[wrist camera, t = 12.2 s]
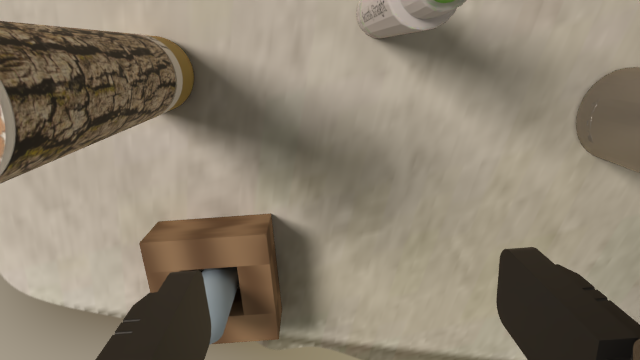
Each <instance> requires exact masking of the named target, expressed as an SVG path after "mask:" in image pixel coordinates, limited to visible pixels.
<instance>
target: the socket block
mask: <svg viewBox="0 0 640 360" xmlns="http://www.w3.org/2000/svg"><path fill="white" fill-rule="evenodd" d="M139 244H140V249H141V253H142V257H143V262H144V266H145V270H146V275H147V279H148V284H149V288H150V292H151V293H154V292H158V290H159V289H160V287H161V286H162V284H163V282H164V281H165V279H166V278H167V276H168V275H169V273H171V272H182V271H196V270H198V269H210V268H224V267H237V271H238V278H239V285H240V288H237V291H236V294H235V297H234V300H233V304H232V307H231V310H230V313H229V317H228V320H227V323H226V326H225V330H224V333H223V335H222V337H221V338H220V339H219V340H218V341H216V342H215V343H212V344H218V343H219V344H220V343H233V342H247V341H261V340H275V339H279V332H280V323H281V314H282V306H281V297H280V288H279V279H278V270H277V261H276V253H275V244H274V235H273V226H272V217H271V214H260V215H246V216H232V217H218V218H204V219H190V220H176V221H162V222H158V223H157V224H156V225H155V226H154V227H153V228H152V230H151V231H150V232H149V233H148V234H147V235H146V236H145V237H144V239H143V240H142V241H141V242H140V243H139Z"/></svg>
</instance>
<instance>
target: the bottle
mask: <svg viewBox="0 0 640 360" xmlns="http://www.w3.org/2000/svg"><path fill="white" fill-rule="evenodd" d="M465 1H466V0H360V2H359V4H358V7H357V20H358V23H359V25H360V28H361V29H362V30H363V31H364V32H365V33H366V34H367V35H369V36H371V37H373V38H386V37H391V36H397V35H403V34H408V33H414V32H420V31H425V30H430V29H435V28H436V27H438V26H440V25H442V24H443V23H445V22H446V21H447V20H448V19H449V18H450V17H451V16H452V15H453V14H454V13H455V11H456V9H457V7H459V6H461V5H462V4H463V3H464V2H465Z"/></svg>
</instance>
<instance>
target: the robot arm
mask: <svg viewBox="0 0 640 360" xmlns="http://www.w3.org/2000/svg"><path fill="white" fill-rule="evenodd" d="M576 130H577V135H578V138H579V140H580V142H581V144H582V145H583V147H584V148H585V149H586V150H587V151H588V152H590V153H591V154H592V155H594V156H597V157H599V158H602V159H604V160H607V161H610V162H612V163H615V164H618V165H620V166H623V167H625V168H628V169H630V170H633V171H636V172H639V173H640V68H639V67H633V68H624V69H620V70H616V71H614V72H612V73H610V74H608V75H606V76H604V77H603V78H602V79H600V80H599V81H597V82H596V83H595V84H594V85H593V86H592V87H591V89H590V90H589V91H588V92H587V94H586V95H585V97H584V98H583V100H582V102H581V105H580V107H579V109H578V114H577V118H576ZM497 310H498V314H499V317H500V319H501V322H502V324H503V325H504V327H505V328H506V329H507V331H508V332H509V334H510V335H511V337H512V338H513V339H514V341H515V342H516V344H517V345H518V346H519V348H520V349H521V351H522V352H523V354H524V355H525V356H526V358H527V359H528V360H640V325H639V324H638V323H637V322H636V321H634V320H633V319H632V318H631V317H630V316H628V315H627V314H626V313H625V312H624V311H622V310H621V309H620V308H619V307H618V306H616V305H615V304H614V303H613V302H612V301H608V300H607V297H606V296H604V295H603V294H602V293H601V292H600V291H598V290H595V289H594V286H592V285H591V284H590V283H589V282H588V281H586V280H585V279H584V278H583V277H582V276H580V275H579V274H577V273H575V272H573V271H571V270H569V269H567V268H565V267H563V266H561V265H558V264H557V265H555V264H554V263H553V262H551V261H550V260H549V259H548V258H547V257H546V256H545V255H543V254H542V253H541V252H540V251H539V250H538V249H536V248H534V247H529V248H515V249H504V250H503V251H502V253H501V256H500V264H499V276H498V288H497ZM210 339H211V318H210V313H209V307H208V301H207V296H206V290H205V285H204V279H203V275H202V273H201V271H199V270H196V271H182V272H171V273H169V275H168V276H167V278H166V279H165V281H164V282H163V284H162V286H161V287H160V289H159V290H158V292H154V293H149V294H147V295H146V296H145V297H144V298H142V299H141V300H140V301H138V302H137V303H136V304H135V305H133V307H132V308H131V309H130V311H129V312H128V314H127V315H126V317H125V318H124V320H123V323H121V324H120V325H119V327H118V328H117V330H116V331H115V335H112V337H111V338H110V340H109V341H108V343H107V344H106V345H105V347H104V348H103V350H102V351H101V353H100V354H99V356H98V357H97V359H96V360H204V359H205V356H206V353H207V350H208V347H209V344H210Z"/></svg>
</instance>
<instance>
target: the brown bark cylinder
mask: <svg viewBox="0 0 640 360" xmlns="http://www.w3.org/2000/svg"><path fill="white" fill-rule="evenodd" d="M193 82H194V74H193V69H192V65H191V63H190V60H189V59H188V57H187V55H186V54H185V53H184V51H183V50H182V49H181V48H180V47H179V46H177V45H176V44H175V43H173V42H171V41H170V40H168V39H165V38H162V37H157V36H147V35H140V34H130V33H119V32H109V31H98V30H88V29H78V28H67V27H57V26H46V25H36V24H25V23H15V22H5V21H0V183H2V182H5V181H7V180H9V179H12V178H14V177H16V176H19V175H21V174H23V173H26V172H28V171H30V170H33V169H35V168H37V167H40V166H42V165H44V164H47V163H49V162H51V161H54V160H56V159H58V158H61V157H63V156H65V155H68V154H70V153H72V152H75V151H77V150H79V149H82V148H84V147H86V146H89V145H91V144H93V143H96V142H98V141H100V140H103V139H105V138H107V137H110V136H112V135H114V134H117V133H119V132H121V131H124V130H126V129H128V128H131V127H133V126H135V125H138V124H140V123H142V122H145V121H147V120H149V119H152V118H154V117H156V116H159V115H161V114H163V113H165V112H167V111H170V110H172V109H174V108H176V107H178V106H180V105H181V104H182V103H183V102H184V101H185V100H186V99H187V98H188V96H189V95H190V93H191V90H192V87H193Z"/></svg>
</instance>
